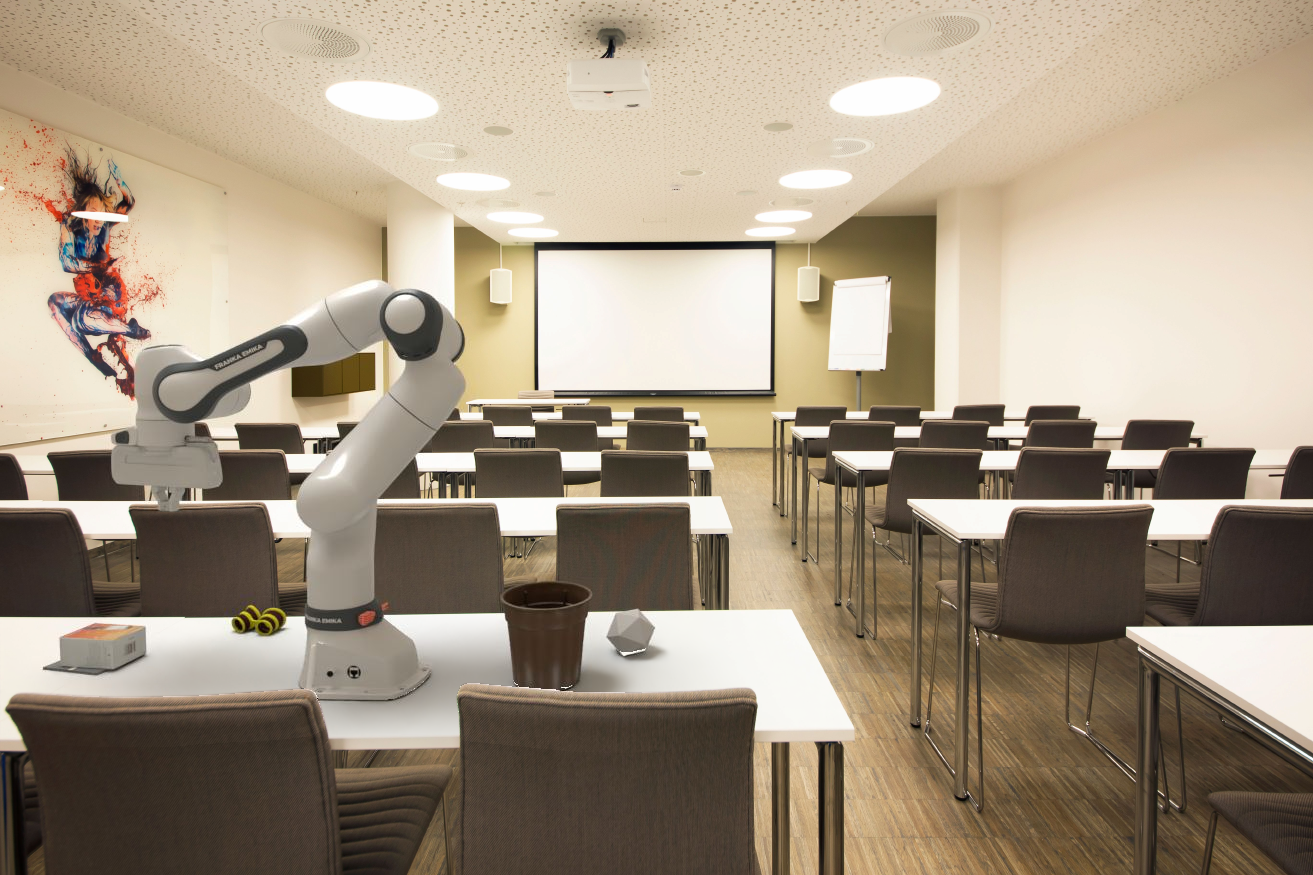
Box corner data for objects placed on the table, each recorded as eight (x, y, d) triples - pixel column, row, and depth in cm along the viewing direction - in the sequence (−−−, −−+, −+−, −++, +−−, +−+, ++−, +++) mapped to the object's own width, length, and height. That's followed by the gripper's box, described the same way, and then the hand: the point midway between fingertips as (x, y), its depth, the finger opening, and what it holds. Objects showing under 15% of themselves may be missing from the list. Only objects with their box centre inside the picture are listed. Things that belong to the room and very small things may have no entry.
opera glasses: (231, 635, 154) (227, 614, 152) (250, 623, 159) (246, 602, 157) (271, 640, 152) (267, 619, 150) (288, 627, 157) (285, 606, 155)
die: (652, 664, 143) (666, 615, 148) (615, 647, 140) (630, 597, 144) (630, 665, 150) (644, 618, 155) (594, 648, 147) (610, 601, 151)
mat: (145, 654, 141) (144, 651, 141) (96, 675, 131) (96, 672, 131) (94, 648, 143) (94, 646, 143) (43, 669, 133) (42, 666, 133)
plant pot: (524, 708, 122) (525, 614, 120) (485, 674, 135) (485, 589, 133) (607, 685, 131) (609, 597, 130) (563, 656, 144) (564, 576, 143)
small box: (112, 640, 132) (57, 637, 132) (114, 670, 132) (59, 666, 133) (146, 624, 140) (94, 621, 140) (147, 653, 140) (95, 650, 141)
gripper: (229, 435, 134) (232, 510, 135) (133, 431, 137) (136, 504, 138) (202, 438, 127) (205, 516, 129) (102, 434, 131) (106, 510, 132)
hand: (168, 510), depth 133 cm, fingers closed
